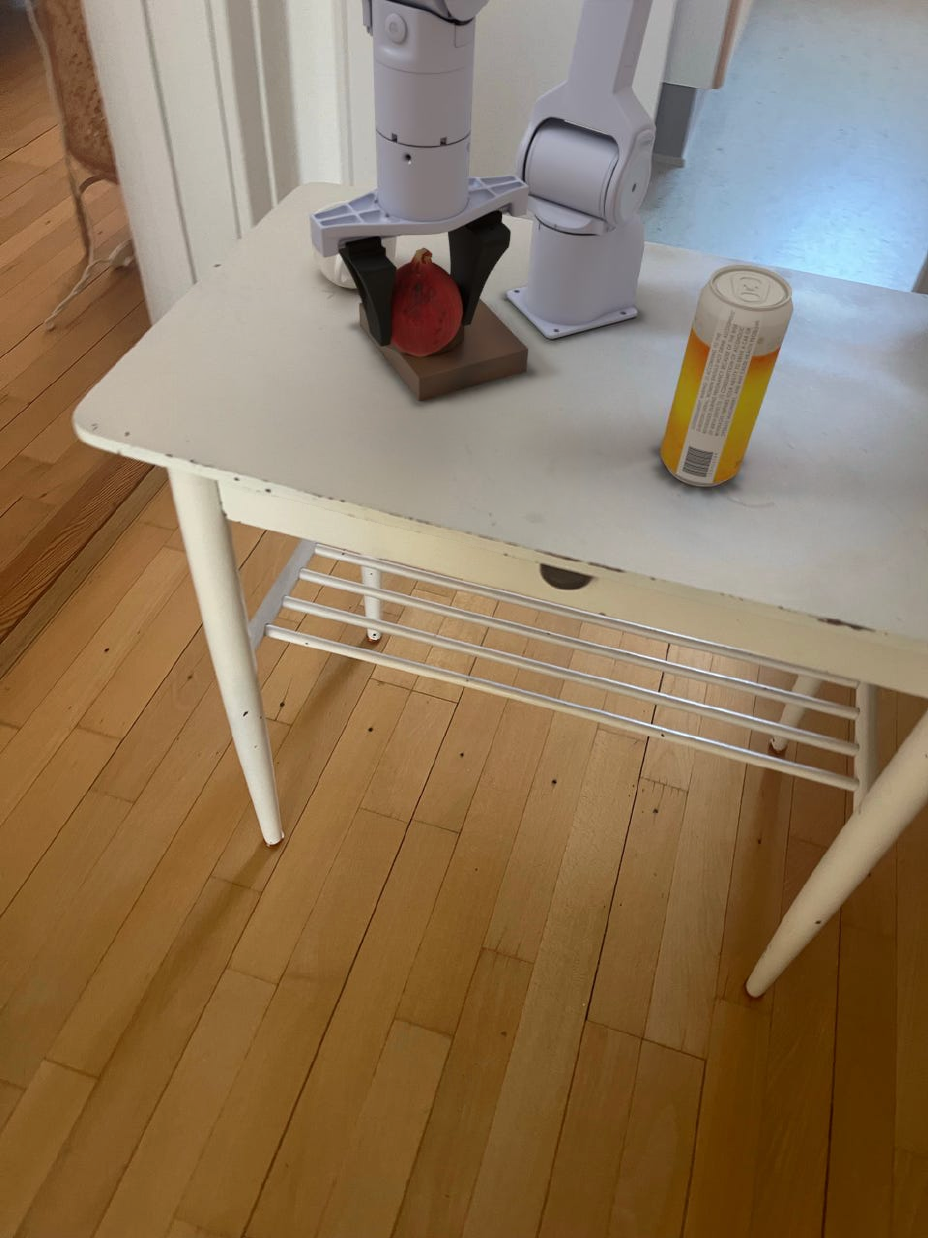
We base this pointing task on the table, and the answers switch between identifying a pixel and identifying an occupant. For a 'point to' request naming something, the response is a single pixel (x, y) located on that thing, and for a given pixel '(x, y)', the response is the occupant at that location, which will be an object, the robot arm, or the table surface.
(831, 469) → the table surface
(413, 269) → the red fruit
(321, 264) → the teacup
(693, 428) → the beer can
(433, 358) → the button box
